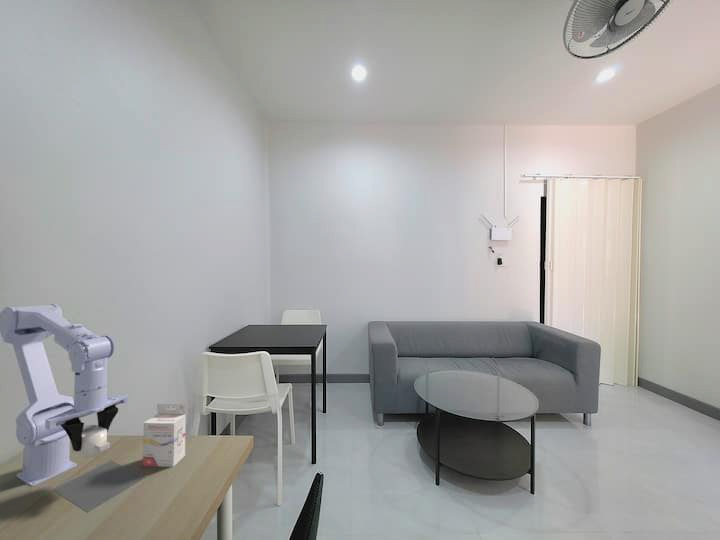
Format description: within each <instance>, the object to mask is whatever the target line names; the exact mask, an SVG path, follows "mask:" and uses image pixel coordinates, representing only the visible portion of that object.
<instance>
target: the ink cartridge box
mask: <svg viewBox="0 0 720 540" xmlns="http://www.w3.org/2000/svg"><path fill="white" fill-rule="evenodd" d="M156 405H157V406H156V410H157V414H155V415H154V416H152V417H150V418H149V419H147V420H146V421H144V422H143V439H142V440H143V442H142V444H143V445H142V467H169V468H170V467H171V468H173V467H175V466H176V465H177V464H178V463H179V462H180V461H181V460H182V459H183V458H184V457H186V419H187V417H186V416H187V415H186V405H185V404H184V403H159V402H158V403H157V404H156ZM167 408H168V409H167ZM169 408H172V409H169ZM174 408H175V409H174Z"/></svg>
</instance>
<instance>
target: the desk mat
mask: <svg viewBox="0 0 720 540" xmlns="http://www.w3.org/2000/svg"><path fill="white" fill-rule="evenodd" d="M146 478H147V476H145V475H143V474H141V473H138V472H137V471H134V470H132V469H131V468H129V467H126V466H123V465H122V464H119V463H117V462H115V461H113V460H109V461H107V462H105V463H103V464H101V465H99V466H96V467H95V468H93V469H91V470H89V471H87V472H85V473H83V474H81V475H79V476H76V477H75V478H73V479H71V480H69V481H67V482H64V483H62V484H61V485H59V486H56V487H55V488H52V491H54V492H55V493H57V494H58V495H59V496H62V497H63V498H65V499H66V500H67V501H69V502H71V503H73V505H75V506H77V507H78V508H80V509H81V510H82V511H85V512H86V513H89V512H90V511H92V510H94V509H96V508H97V507H99V506H101V505H103V504H104V503H106V502H107V501H108V502H109V500H111V499H113V498H114V497H116V496H118V495H119V494H121V493H123V492H124V491H126V490H128V489H129V488H131V487H133V486H134V485H136V484H137V483H138V484H139V482H141V481H142V480H144V479H146Z"/></svg>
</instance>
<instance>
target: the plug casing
mask: <svg viewBox="0 0 720 540" xmlns="http://www.w3.org/2000/svg"><path fill="white" fill-rule="evenodd" d="M109 448H111V442H109V441H108V433H107V429H105V428H102V427H100V426H98V424H88V425H84V426H83V430H82V446H81V450H80V451H74V450H73V449H72V453H74V454H76V455H78V456H80V457H82V458H85V459H90V458H95V457H98V456H99V455H101V454H104V453H105V452H106V451H107V449H109Z"/></svg>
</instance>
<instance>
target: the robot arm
mask: <svg viewBox="0 0 720 540" xmlns="http://www.w3.org/2000/svg"><path fill="white" fill-rule="evenodd" d="M0 335H1V338H2V341H3V342H4V343H7V344H10V345H12V346H13V351H14V354H15V357H16V361H17V364H18V367H19V370H20V374H21V377H22V381H23V386H24V388H25V391H26V395H27V398H28V402H29V404H28V406H27V407H25V408H24V410H23V411H21V412H20V413H19V414H18V416H17V417H16V419H15V424H16V429H15V430H16V431H15V435H16V439H17V441H18V443H20V444H21V445H24V446H23V450H22V471H21V472H18V473H17V474H16V477H17V478H18V479H20V480H21V481H23V482H24V483H26V484H27V485H28V486H30V487H34V486H37V485H38V484H41V483H43V482H45V481H47V480H49V479H52V478H54V477H55V476H57V475H61V474H63V473H64V472H66V471H68V470H70V469H72V468H75V467H77V463H76V462H74V461H72V460H70V450H71V449H70V447H71V446H72V451H73V450H74V451H80V450H81V446H82V430H83V426H85V422H82V419H81V418H84V417H86V416H90V415H92V414H93V415H94V414H96V417H97V426H100V427H102V428H105V429H107V434H108V432H109V429H110V427H111V425H112V422H113V421H114V419H115V417H116V416H117V414H118V413H119V407H117V406H118V405H120V404H126V403H129V395H128V394H126V393H123V394H118V395H115V396H110V397H108V365H109V364H108V363H109V362H108V360H109V358H111V357H112V356H113V354H114V352H115V344H114V343H115V342H114V341H113V339H112V338H111V337H110V336H109V335H105V334H104V335H96V334H95V333H93V332H92V331H90V330H89V329H87V328H86V327H84V326H83V325H82V324H81V323H70V322H69V321H68V319H66V318H64V317H63V310H62V308H61V307H60V306H59V305H58V304H56V303H52V304H41V305H30V306H29V305H28V306H27V305H26V306H15V307H13V306H6V307H5V308H4V309H2V310H1V312H0ZM52 335H54V336H53V341H54V343H56V344H57V345H59V347H61V348H62V349H63V350H65V351H66V352H68V354H67V355H68V359H69V361H70V364H71V372H73V373H74V390H73V391H74V392H73V393H74V394H73V397H72V396H67V395H63V394H59V392H58V387H57V385H56V382H55V379H54V375H53V372H52V369H51V365H50V362H49V359H48V356H47V352H46V349H45V346H44V343H43V341H44V340H45V339H48V338H49V337H50V336H52ZM70 443H71V444H70ZM70 445H71V446H70Z"/></svg>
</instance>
